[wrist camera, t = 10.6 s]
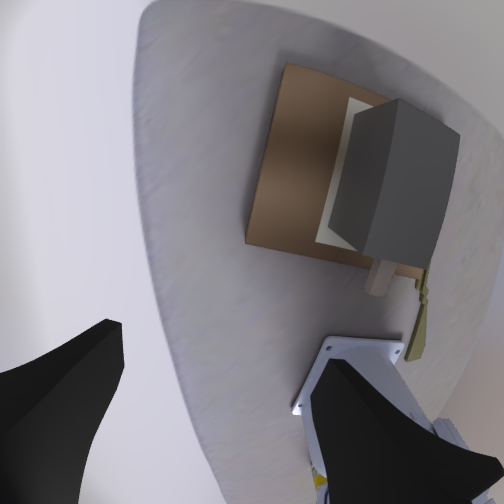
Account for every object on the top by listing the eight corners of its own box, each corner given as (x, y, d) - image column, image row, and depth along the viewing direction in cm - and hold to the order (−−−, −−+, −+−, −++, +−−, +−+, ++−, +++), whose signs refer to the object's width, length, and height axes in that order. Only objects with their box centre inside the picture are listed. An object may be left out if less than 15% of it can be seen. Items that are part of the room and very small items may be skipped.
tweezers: (418, 352, 22) (422, 358, 21) (402, 359, 22) (406, 364, 21) (433, 232, 18) (439, 235, 17) (414, 236, 18) (420, 240, 17)
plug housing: (372, 269, 16) (412, 306, 12) (318, 258, 16) (347, 296, 11) (408, 137, 14) (460, 135, 9) (354, 114, 13) (398, 98, 9)
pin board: (411, 273, 18) (438, 294, 15) (244, 238, 17) (245, 259, 13) (446, 137, 15) (480, 138, 11) (283, 69, 14) (295, 45, 10)
